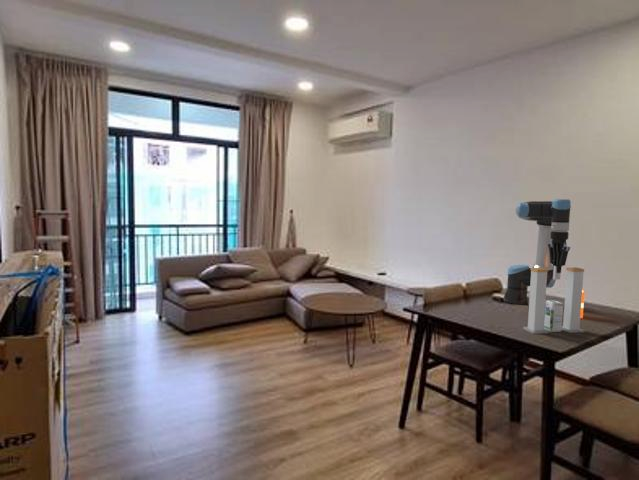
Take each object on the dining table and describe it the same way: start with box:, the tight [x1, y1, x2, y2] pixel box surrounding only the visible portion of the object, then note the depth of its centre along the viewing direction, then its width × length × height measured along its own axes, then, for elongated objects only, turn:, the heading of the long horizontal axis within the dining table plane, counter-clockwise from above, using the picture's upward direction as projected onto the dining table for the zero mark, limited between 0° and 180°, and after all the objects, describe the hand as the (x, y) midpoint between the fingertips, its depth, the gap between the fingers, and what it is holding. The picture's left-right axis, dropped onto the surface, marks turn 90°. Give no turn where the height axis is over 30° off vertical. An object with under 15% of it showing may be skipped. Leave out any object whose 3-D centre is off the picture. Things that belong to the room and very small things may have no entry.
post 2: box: [561, 267, 585, 334], centre depth 208 cm, size 8×8×31 cm
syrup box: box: [544, 299, 564, 333], centre depth 208 cm, size 6×6×14 cm
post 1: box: [522, 267, 549, 335], centre depth 206 cm, size 8×8×31 cm
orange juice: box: [580, 288, 585, 319], centre depth 235 cm, size 8×9×20 cm
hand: (556, 279), depth 206 cm, fingers closed
